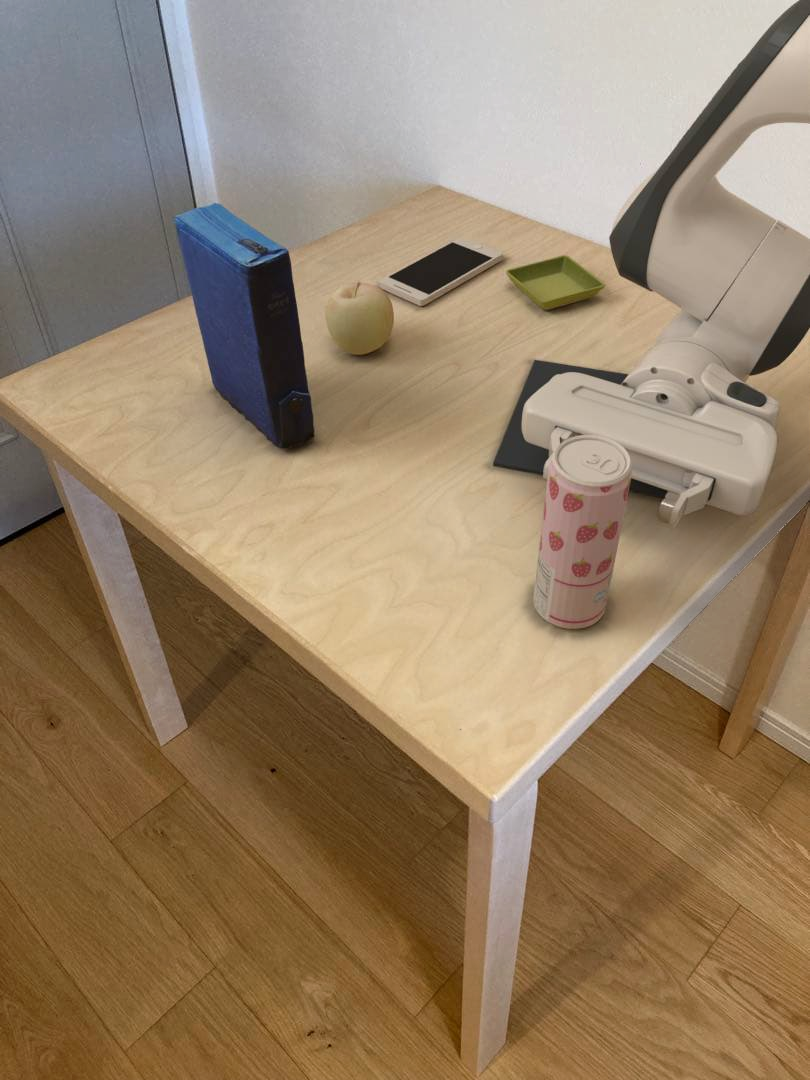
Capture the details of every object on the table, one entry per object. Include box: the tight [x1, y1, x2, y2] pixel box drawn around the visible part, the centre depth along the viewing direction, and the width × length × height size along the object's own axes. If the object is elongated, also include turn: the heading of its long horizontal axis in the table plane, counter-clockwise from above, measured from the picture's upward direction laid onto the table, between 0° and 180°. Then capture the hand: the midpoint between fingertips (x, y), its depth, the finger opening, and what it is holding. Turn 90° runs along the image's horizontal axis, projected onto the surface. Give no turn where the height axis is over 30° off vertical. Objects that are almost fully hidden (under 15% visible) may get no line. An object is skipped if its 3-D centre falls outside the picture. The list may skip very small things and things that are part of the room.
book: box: [173, 202, 316, 450], centre depth 83 cm, size 14×5×20 cm, turn 37°
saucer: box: [505, 255, 606, 311], centre depth 105 cm, size 9×9×2 cm
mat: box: [492, 359, 670, 499], centre depth 87 cm, size 18×18×1 cm
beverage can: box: [533, 435, 632, 630], centre depth 66 cm, size 6×6×15 cm
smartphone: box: [378, 236, 504, 307], centre depth 110 cm, size 7×16×1 cm, turn 137°
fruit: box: [324, 281, 395, 356], centre depth 96 cm, size 8×7×8 cm
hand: (607, 495), depth 68 cm, fingers open, 8 cm apart
